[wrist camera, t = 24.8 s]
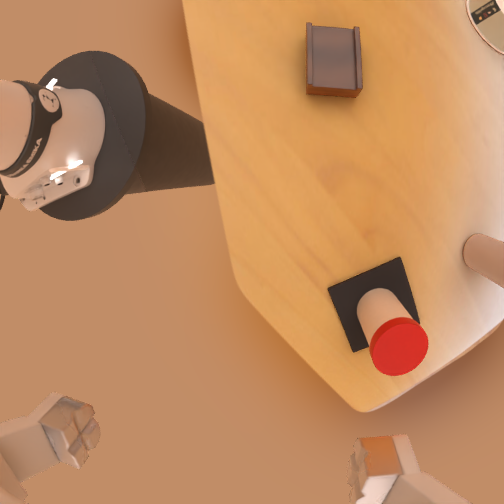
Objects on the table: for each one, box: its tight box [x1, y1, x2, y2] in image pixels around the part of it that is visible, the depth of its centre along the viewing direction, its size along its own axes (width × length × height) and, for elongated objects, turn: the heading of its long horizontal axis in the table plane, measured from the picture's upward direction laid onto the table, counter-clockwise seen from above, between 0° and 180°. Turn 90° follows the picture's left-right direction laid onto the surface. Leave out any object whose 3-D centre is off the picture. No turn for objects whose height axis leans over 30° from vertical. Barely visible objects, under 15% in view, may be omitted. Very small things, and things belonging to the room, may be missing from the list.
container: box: [357, 288, 428, 376], centre depth 33 cm, size 11×6×6 cm
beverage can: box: [463, 234, 504, 288], centre depth 30 cm, size 5×5×12 cm
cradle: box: [306, 23, 363, 98], centre depth 31 cm, size 8×6×4 cm
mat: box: [328, 257, 420, 353], centre depth 39 cm, size 10×10×1 cm
